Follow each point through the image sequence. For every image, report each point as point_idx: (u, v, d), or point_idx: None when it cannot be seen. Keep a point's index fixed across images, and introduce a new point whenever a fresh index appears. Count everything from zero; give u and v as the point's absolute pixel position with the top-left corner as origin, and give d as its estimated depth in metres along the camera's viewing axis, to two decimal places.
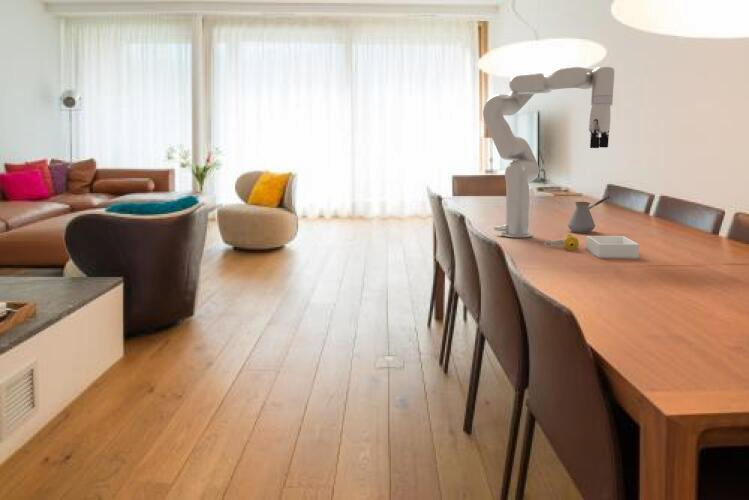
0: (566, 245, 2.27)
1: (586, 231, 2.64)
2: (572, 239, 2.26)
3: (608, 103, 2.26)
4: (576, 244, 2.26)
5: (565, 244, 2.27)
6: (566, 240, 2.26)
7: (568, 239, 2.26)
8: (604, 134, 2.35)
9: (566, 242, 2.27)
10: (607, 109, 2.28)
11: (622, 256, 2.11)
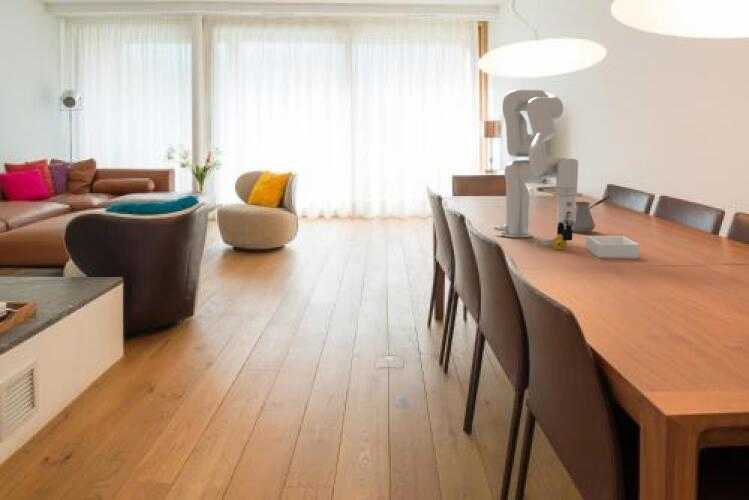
0: (554, 244, 2.27)
1: (586, 231, 2.64)
2: (560, 239, 2.26)
3: None
4: (564, 244, 2.26)
5: (553, 243, 2.28)
6: (554, 239, 2.27)
7: (556, 238, 2.27)
8: None
9: (554, 241, 2.27)
10: (558, 200, 2.27)
11: (622, 256, 2.11)
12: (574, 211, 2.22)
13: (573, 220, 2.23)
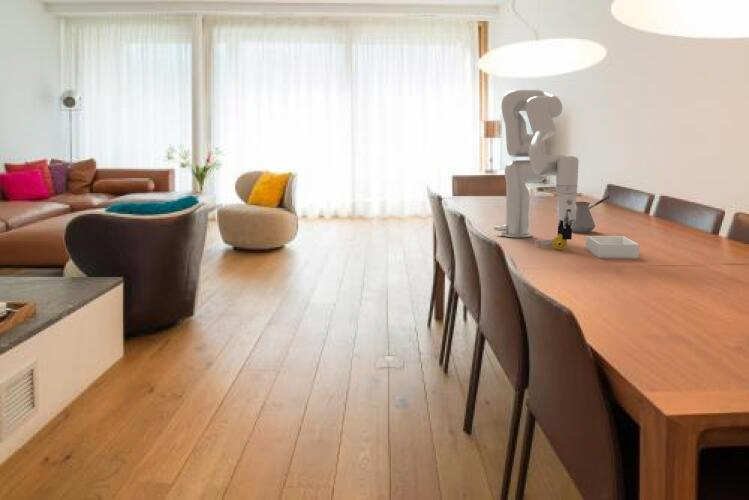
0: (554, 244, 2.27)
1: (586, 231, 2.64)
2: (560, 239, 2.26)
3: None
4: (564, 244, 2.26)
5: (553, 243, 2.27)
6: (554, 239, 2.26)
7: (556, 238, 2.26)
8: None
9: (554, 241, 2.27)
10: (558, 198, 2.27)
11: (622, 256, 2.11)
12: (574, 209, 2.22)
13: (573, 218, 2.22)
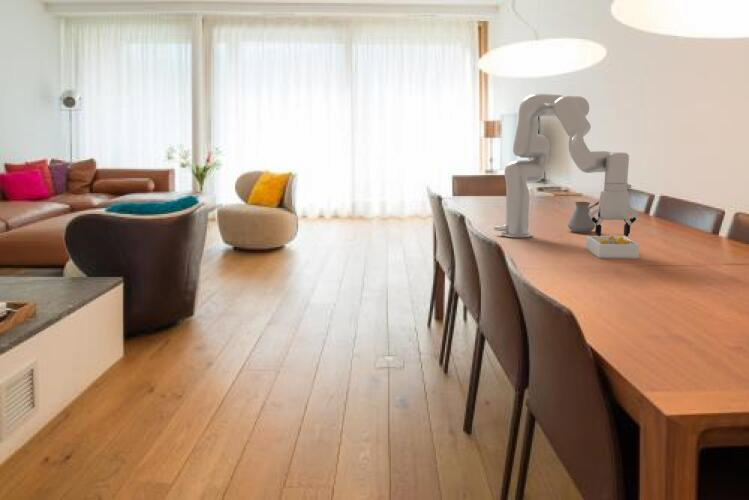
0: (623, 243, 2.15)
1: (586, 231, 2.64)
2: None
3: (612, 191, 2.13)
4: None
5: (623, 242, 2.15)
6: None
7: None
8: None
9: (623, 240, 2.16)
10: (615, 197, 2.14)
11: (622, 256, 2.11)
12: None
13: None
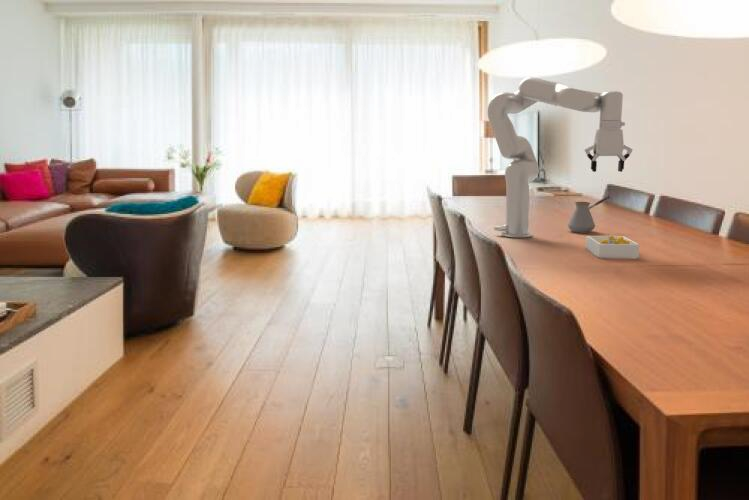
0: (623, 243, 2.15)
1: (586, 231, 2.64)
2: None
3: (607, 127, 2.26)
4: None
5: (623, 242, 2.15)
6: None
7: None
8: None
9: (623, 240, 2.16)
10: (609, 133, 2.27)
11: (622, 256, 2.11)
12: None
13: None
